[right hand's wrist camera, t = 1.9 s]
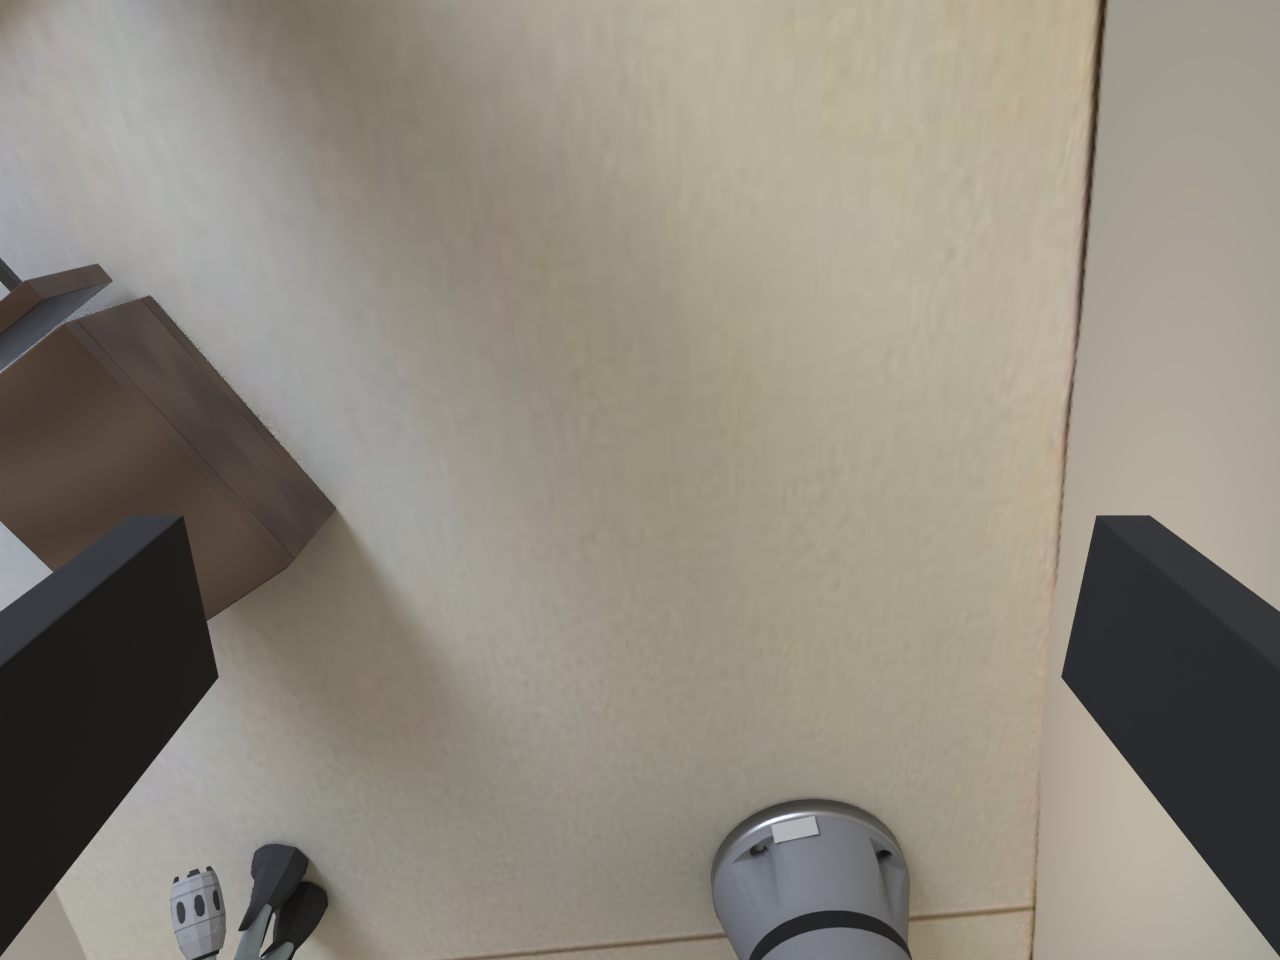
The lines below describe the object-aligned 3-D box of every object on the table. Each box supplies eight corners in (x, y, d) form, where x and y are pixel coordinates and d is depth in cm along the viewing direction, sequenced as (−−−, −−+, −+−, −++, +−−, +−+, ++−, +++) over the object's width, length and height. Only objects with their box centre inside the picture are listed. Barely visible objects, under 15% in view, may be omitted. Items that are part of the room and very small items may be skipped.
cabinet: (20, 396, 54) (-85, 440, 46) (150, 294, 51) (62, 323, 43) (211, 592, 59) (145, 661, 51) (336, 508, 56) (288, 567, 49)
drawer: (-102, 274, 50) (-201, 293, 44) (17, 171, 48) (-70, 176, 42) (165, 549, 56) (110, 597, 51) (280, 469, 54) (236, 509, 48)
